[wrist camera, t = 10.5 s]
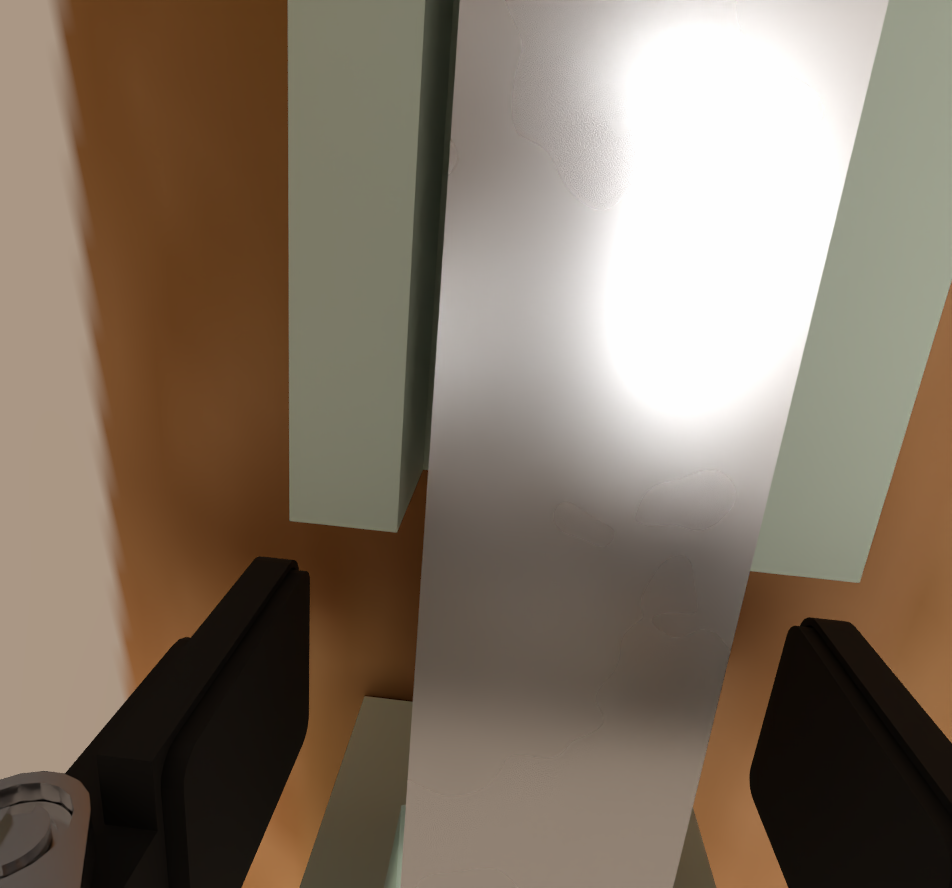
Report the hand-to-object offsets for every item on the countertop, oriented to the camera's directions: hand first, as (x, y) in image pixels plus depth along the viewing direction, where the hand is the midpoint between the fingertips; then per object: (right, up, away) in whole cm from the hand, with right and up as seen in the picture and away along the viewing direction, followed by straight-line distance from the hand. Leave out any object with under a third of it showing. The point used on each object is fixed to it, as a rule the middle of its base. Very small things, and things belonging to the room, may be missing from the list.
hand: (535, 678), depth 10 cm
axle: (0, +4, -1) cm, 4 cm away
